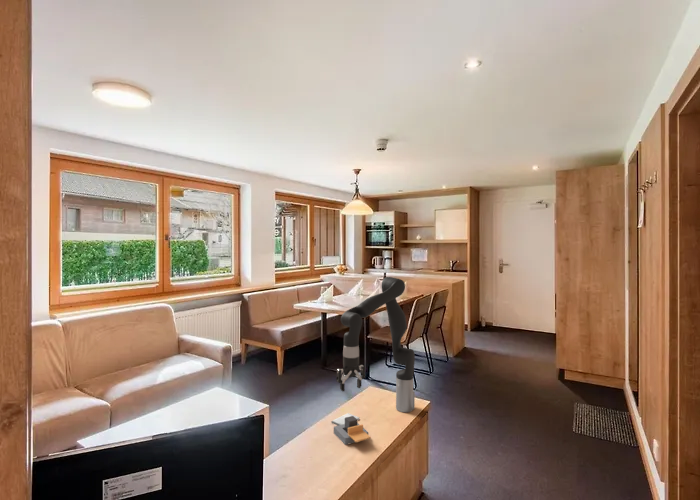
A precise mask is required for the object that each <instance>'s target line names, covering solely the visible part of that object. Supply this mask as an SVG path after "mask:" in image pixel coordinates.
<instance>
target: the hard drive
mask: <svg viewBox="0 0 700 500" xmlns="http://www.w3.org/2000/svg"><path fill="white" fill-rule="evenodd" d="M350 416H354V417H355V418H356V419H357V420H358V421H359V420H360V417H359V416H357V415H354V414H352V413H350V412H347V413H345V414H343V415H341V416H339V417H337V418H335V419H333V420H331V421H330V422H331V424H333V425H335V426H339V425H343V424H345V418H346V417H350Z"/></svg>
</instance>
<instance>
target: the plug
mask: <svg viewBox="0 0 700 500" xmlns="http://www.w3.org/2000/svg"><path fill="white" fill-rule="evenodd" d="M354 416H355V415H354ZM354 416H350V417H346V418H345V431H346V432H347V433H348V428H349V427H353V426H357V423H358V421H359V420H357V419H356V418H355V417H354Z"/></svg>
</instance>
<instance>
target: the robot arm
mask: <svg viewBox="0 0 700 500" xmlns="http://www.w3.org/2000/svg"><path fill="white" fill-rule="evenodd" d="M405 289H406V284H405V281H404V280H403V279H400V278H397V277H392V276H385V277H384V278H383V279H382V281H381V292H380V293H378V294H375V295H372V296H370V297H369V296H368V298H366V299H364V300H363V301H362V302H360V303H359V304H358V305H356V306H353V307H351V308H349V309H347V310H345V311H344V312H343V313H342V315H341V316H340V322H341V324H342V325H343V326H344V327H347V328H349V329H348V330H349V331H346V332H345V333H344V335H343V347H342V348H343V350H342V365H343V366H342V368H336V379H335V381H336V382H337V383H338V384H339V389H340V391H341V392H345V391H346V390H345V385H346V384H345V383H346V381H347V380H348V379H349V378H352V377H353V378H354V377H356V378H357V380H356V387H357V389H361V387H362V381H363V379H365V378H366V367H365V365H363V364H360V347H359V346H360V345H359V341H360V340H359V337H360V334H361V330H362V326H363V319H364V318H367V317H369V316H370V315H372V314H373V313H374V312H375V311H376V310H378V309H379V308H381V307H382V306H384V305H385V307H386V312H387V318H388V325H389V330H390V336H391V346H392V358H393V362H394V363H395V364H396V365H400V366H403V367H404V366H405V368H404V369H400V370H397V371H396V378H395V379H396V381H395V382H396V385H395V386H396V387H395V389H396V390H395V391H396V392H395V398H396V399H395V410H396V411H398V412H401V413H411V412H413V410H415V409H416V408H415V404H416V403H415V402H416V401H415V398H416V397H415V396H416V394H415V391H414V373H415V360H416V359H415V356H416V354H415V351H414V349H412V348H406V347H402V343H401V341H402V339H403V337H404V335H405V333H406V332H407V328H408V326H407V325H408V324H407V318H406V314H405V312H404V311H403V309H402V307H401V306H400V305H399V302H398V301H397V298H398V297H400V296H401V295H403V294H404V292H405ZM359 371H360V373H359Z"/></svg>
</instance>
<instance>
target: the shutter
mask: <svg viewBox="0 0 700 500" xmlns="http://www.w3.org/2000/svg"><path fill="white" fill-rule="evenodd" d="M363 428H364V424H363V423H362V424H359V425H357V426H353V427H349V428H348V435H349V436H350V437H351V438H352V439H353V440H354V441H355V442H354V443H359V442H362V441H366V440H367V441H368V440H370V439H371V436H370V435H369V433H368V434H367V433H366V432H364V431H363Z"/></svg>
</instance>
